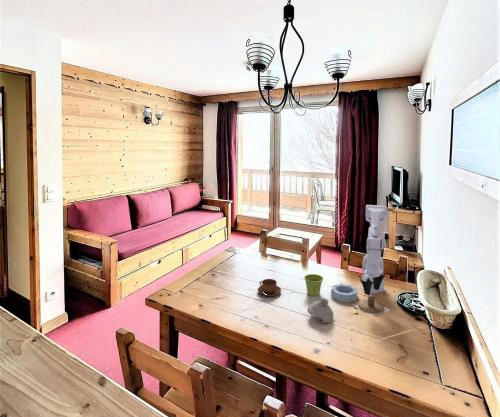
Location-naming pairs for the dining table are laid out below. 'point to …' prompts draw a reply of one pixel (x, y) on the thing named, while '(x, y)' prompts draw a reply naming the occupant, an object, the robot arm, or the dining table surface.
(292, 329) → the dining table surface
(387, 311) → the mat
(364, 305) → the lid
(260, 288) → the cup and saucer
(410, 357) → the dining table surface
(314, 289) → the plant pot
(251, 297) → the dining table surface
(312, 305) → the grey clay mound
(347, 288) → the bowl
